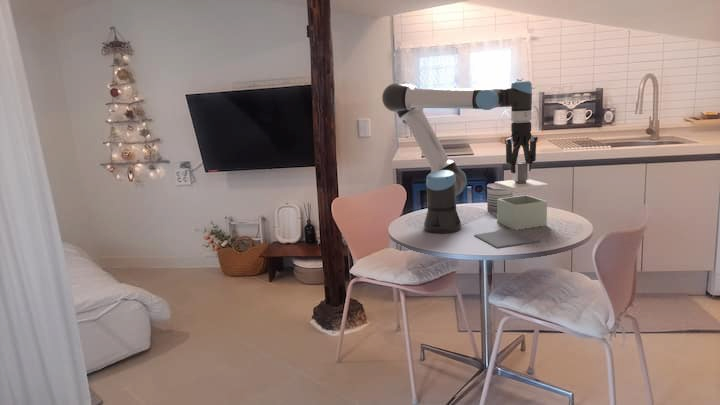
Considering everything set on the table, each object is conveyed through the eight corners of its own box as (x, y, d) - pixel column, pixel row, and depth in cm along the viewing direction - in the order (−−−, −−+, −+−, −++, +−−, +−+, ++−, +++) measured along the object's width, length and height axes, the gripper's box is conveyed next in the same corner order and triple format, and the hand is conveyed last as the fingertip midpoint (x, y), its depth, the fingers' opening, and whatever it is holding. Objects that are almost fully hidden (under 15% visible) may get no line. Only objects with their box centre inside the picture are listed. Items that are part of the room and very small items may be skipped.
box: (515, 230, 192) (515, 205, 190) (497, 222, 205) (497, 198, 203) (546, 225, 195) (547, 201, 193) (526, 217, 208) (526, 195, 206)
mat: (496, 248, 172) (496, 246, 172) (474, 235, 188) (474, 234, 188) (539, 241, 176) (539, 240, 176) (513, 230, 192) (513, 228, 192)
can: (500, 206, 231) (500, 181, 229) (518, 210, 221) (518, 184, 219) (481, 210, 226) (481, 185, 224) (499, 214, 216) (498, 188, 214)
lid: (514, 193, 188) (514, 167, 186) (494, 187, 203) (494, 162, 200) (548, 189, 192) (548, 163, 190) (526, 183, 206) (526, 159, 204)
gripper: (506, 123, 186) (506, 183, 191) (546, 120, 190) (545, 179, 195) (496, 122, 193) (496, 180, 198) (535, 119, 197) (534, 176, 202)
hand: (520, 180), depth 196 cm, fingers closed on lid, 4 cm apart
